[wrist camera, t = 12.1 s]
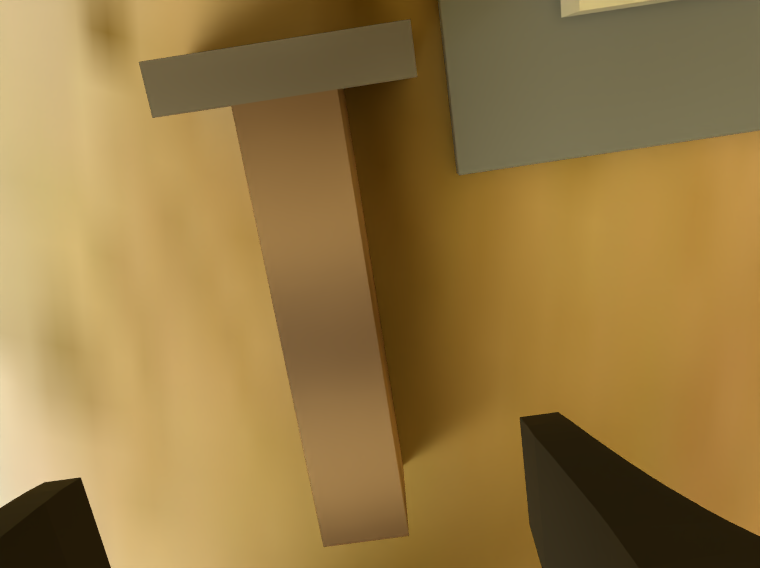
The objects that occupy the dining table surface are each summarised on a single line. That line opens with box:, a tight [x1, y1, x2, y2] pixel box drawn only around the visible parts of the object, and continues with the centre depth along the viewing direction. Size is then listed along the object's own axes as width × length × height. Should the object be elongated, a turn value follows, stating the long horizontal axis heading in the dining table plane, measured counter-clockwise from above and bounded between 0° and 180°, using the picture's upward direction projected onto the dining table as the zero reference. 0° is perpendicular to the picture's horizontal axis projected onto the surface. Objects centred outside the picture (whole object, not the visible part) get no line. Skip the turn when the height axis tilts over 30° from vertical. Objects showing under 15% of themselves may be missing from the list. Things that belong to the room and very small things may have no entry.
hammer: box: [139, 19, 417, 547], centre depth 18 cm, size 13×6×4 cm, turn 8°
